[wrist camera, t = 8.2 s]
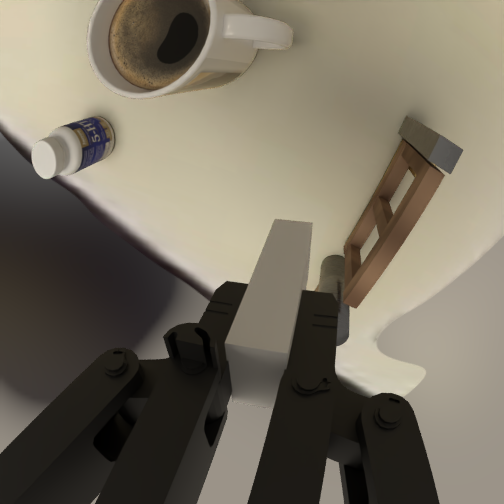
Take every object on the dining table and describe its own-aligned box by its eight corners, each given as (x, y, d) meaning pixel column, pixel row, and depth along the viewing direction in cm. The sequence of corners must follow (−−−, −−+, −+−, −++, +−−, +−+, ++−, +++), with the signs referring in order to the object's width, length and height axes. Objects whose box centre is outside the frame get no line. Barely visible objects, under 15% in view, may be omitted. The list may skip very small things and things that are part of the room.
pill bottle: (122, 129, 31) (66, 151, 23) (106, 167, 34) (54, 195, 26) (90, 107, 30) (33, 124, 23) (77, 144, 33) (24, 168, 26)
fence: (391, 132, 25) (417, 159, 17) (419, 148, 25) (455, 182, 16) (286, 322, 39) (269, 387, 30) (308, 331, 39) (296, 396, 30)
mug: (209, -28, 20) (147, -65, 11) (307, 43, 23) (290, 21, 14) (143, 52, 26) (66, 54, 17) (229, 124, 28) (175, 150, 19)
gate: (354, 251, 31) (356, 308, 24) (343, 246, 31) (342, 302, 24) (414, 146, 24) (444, 175, 17) (403, 139, 24) (430, 166, 17)
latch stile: (406, 115, 24) (440, 134, 15) (434, 132, 24) (478, 160, 15) (387, 154, 26) (410, 191, 18) (415, 170, 26) (448, 213, 18)
